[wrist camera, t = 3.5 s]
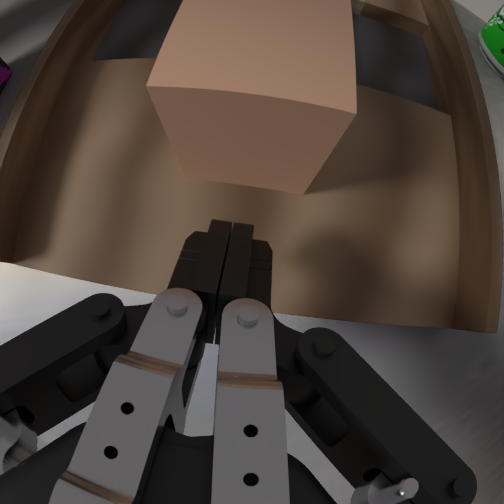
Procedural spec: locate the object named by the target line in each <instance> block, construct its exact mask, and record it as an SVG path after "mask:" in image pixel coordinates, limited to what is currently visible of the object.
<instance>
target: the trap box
mask: <svg viewBox="0 0 504 504" xmlns="http://www.w3.org/2000/svg"><path fill="white" fill-rule="evenodd" d="M182 2H183V0H75V1H74V2H73V4H72V5H71V6H70V8H69V9H68V11H67V12H66V14H65V15H64V16H63V18H62V19H61V21H60V22H59V24H58V25H57V27H56V28H55V30H54V31H53V33H52V35H51V36H50V38H49V39H48V41H47V43H46V44H45V46H44V48H43V49H42V51H41V53H40V55H39V56H38V58H37V60H36V62H35V64H34V65H33V67H32V69H31V71H30V73H29V75H28V77H27V79H26V81H25V83H24V85H23V87H22V89H21V91H20V93H19V95H18V97H17V99H16V101H15V104H14V106H13V108H12V111H11V113H10V115H9V118H8V120H7V122H6V125H5V127H4V130H3V133H2V135H1V138H0V262H6V263H12V264H16V265H20V266H24V267H28V268H32V269H36V270H41V271H45V272H49V273H53V274H58V275H62V276H67V277H71V278H76V279H80V280H85V281H90V282H95V283H99V284H104V285H109V286H114V287H119V288H124V289H130V290H135V291H140V292H145V293H151V294H156V295H158V294H160V293H161V292H163V291H165V290H166V289H167V287H168V284H169V282H170V279H171V276H172V274H173V271H174V268H175V266H176V263H177V261H178V259H179V255H180V253H181V250H182V248H183V245H184V243H185V240H186V238H187V237H189V236H190V235H191V234H192V233H193V232H195V231H200V232H207V233H208V229H209V226H210V223H211V220H212V219H216V220H223V221H230V222H232V229H233V224H234V222H238V223H245V224H251V225H254V232H253V239H256V240H263V241H267V242H268V244H269V245H270V247H271V249H272V251H273V260H272V288H271V309H272V312H273V313H281V314H289V315H298V316H306V317H315V318H324V319H334V320H343V321H354V322H365V323H376V324H388V325H401V326H416V327H432V328H451V329H459V330H467V331H474V332H482V333H497V327H498V319H499V310H500V300H501V287H502V265H503V229H502V208H501V195H500V184H499V175H498V167H497V160H496V153H495V147H494V141H493V136H492V130H491V125H490V121H489V116H488V112H487V107H486V103H485V99H484V95H483V92H482V88H481V84H480V81H479V77H478V74H477V71H476V68H475V64H474V61H473V58H472V55H471V53H470V50H469V47H468V44H467V41H466V39H465V36H464V34H463V31H462V28H461V26H460V24H459V21H458V19H457V16H456V14H455V12H454V10H453V7H452V5H451V3H450V1H449V0H351V9H352V20H353V32H354V47H355V67H356V102H357V114H356V116H355V117H354V119H353V120H352V122H351V123H350V125H349V126H348V128H347V129H346V131H345V132H344V134H343V135H342V137H341V138H340V140H339V141H338V143H337V144H336V146H335V147H334V149H333V150H332V152H331V154H330V155H329V157H328V158H327V160H326V161H325V163H324V164H323V166H322V167H321V169H320V170H319V172H318V173H317V175H316V176H315V178H314V179H313V181H312V182H311V184H310V185H309V187H308V188H307V190H306V191H305V193H304V194H297V193H291V192H285V191H278V190H272V189H266V188H259V187H252V186H245V185H238V184H231V183H223V182H216V181H208V180H200V179H191V178H186V177H185V175H184V172H183V170H182V168H181V166H180V163H179V161H178V159H177V157H176V155H175V152H174V150H173V148H172V145H171V143H170V141H169V139H168V136H167V134H166V132H165V130H164V127H163V125H162V123H161V120H160V118H159V116H158V113H157V111H156V109H155V106H154V104H153V102H152V99H151V97H150V95H149V92H148V90H147V88H146V85H147V82H148V79H149V77H150V74H151V71H152V69H153V66H154V64H155V61H156V59H157V56H158V54H159V52H160V49H161V47H162V45H163V42H164V40H165V38H166V35H167V33H168V31H169V29H170V27H171V24H172V22H173V20H174V18H175V16H176V14H177V12H178V10H179V8H180V6H181V4H182ZM231 234H232V233H231Z"/></svg>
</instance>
